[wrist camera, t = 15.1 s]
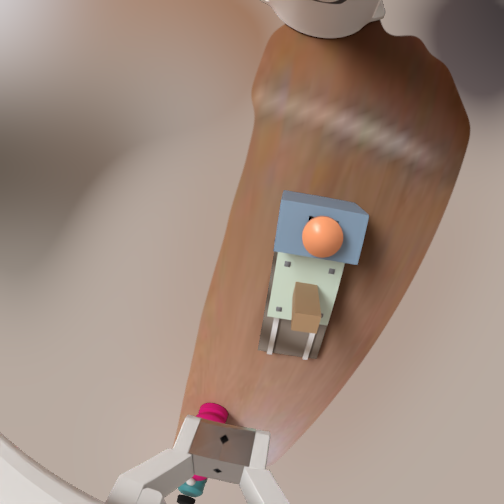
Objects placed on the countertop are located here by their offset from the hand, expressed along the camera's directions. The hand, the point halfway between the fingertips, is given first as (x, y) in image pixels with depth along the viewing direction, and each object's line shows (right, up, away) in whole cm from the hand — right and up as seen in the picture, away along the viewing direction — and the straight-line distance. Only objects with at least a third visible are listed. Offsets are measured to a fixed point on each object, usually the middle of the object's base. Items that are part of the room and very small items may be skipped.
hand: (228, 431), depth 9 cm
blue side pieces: (+10, +11, +30) cm, 33 cm away
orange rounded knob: (+9, +10, +26) cm, 29 cm away
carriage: (+8, +2, +31) cm, 32 cm away
